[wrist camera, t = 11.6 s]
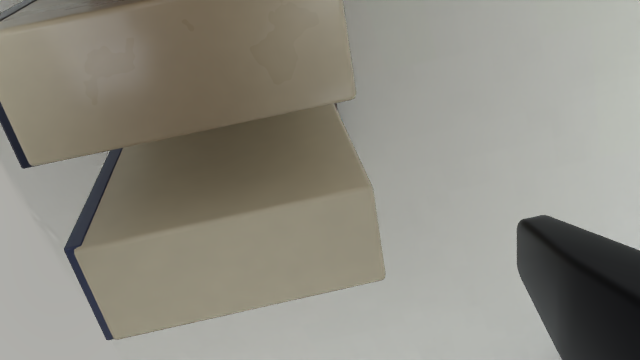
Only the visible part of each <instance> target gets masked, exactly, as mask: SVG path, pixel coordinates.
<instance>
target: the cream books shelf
mask: <svg viewBox="0 0 640 360" xmlns="http://www.w3.org/2000/svg"><path fill="white" fill-rule="evenodd" d="M355 96H356V87H355V80H354V73H353V66H352V59H351V53H350V46H349V39H348V32H347V25H346V18H345V11H344V4H343V0H24V1H22V2H21V3H19V4H17V5H15V6H13V7H11V8H10V9H8V10H6V11H4V12H2V13H0V123H1V125H2V127H3V129H4V131H5V133H6V136H7V138H8V140H9V142H10V144H11V146H12V148H13V150H14V152H15V155H16V157H17V159H18V161H19V163H20V165H21V167H22V168H29V167H34V166H39V165H43V164H47V163H52V162H57V161H62V160H67V159H71V158H76V157H81V156H86V155H90V154H95V153H100V152H105V151H109V150H114V149H119V148H124V147H129V146H133V145H138V144H143V143H148V142H152V141H157V140H162V139H167V138H172V137H176V136H181V135H186V134H191V133H195V132H200V131H205V130H210V129H214V128H219V127H224V126H229V125H234V124H238V123H243V122H248V121H253V120H257V119H262V118H267V117H272V116H277V115H281V114H286V113H291V112H296V111H300V110H305V109H310V108H315V107H319V106H324V105H329V104H334V105H335V107H336V109H337V104H336V103H339V102H343V101H348V100H352V99H354V98H355ZM337 111H338V110H337Z"/></svg>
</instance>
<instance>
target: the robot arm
mask: <svg viewBox="0 0 640 360" xmlns="http://www.w3.org/2000/svg"><path fill="white" fill-rule="evenodd" d="M517 267H518V271H519V274H520V277H521V279H522V281H523V283H524V285H525V287H526V289H527V291H528V293H529V295H530V297H531V299H532V301H533V303H534V305H535V307H536V309H537V311H538V313H539V315H540V317H541V319H542V321H543V323H544V325H545V327H546V329H547V331H548V333H549V335H550V337H551V339H552V341H553V343H554V345H555V347H556V349H557V351H558V353H559V355H560V357H561V358H562V360H640V251H639V250H637V249H634V248H632V247H629V246H626V245H624V244H621V243H618V242H616V241H613V240H610V239H608V238H605V237H603V236H600V235H597V234H595V233H592V232H589V231H587V230H584V229H581V228H579V227H576V226H573V225H571V224H568V223H566V222H563V221H560V220H558V219H555V218H552V217H550V216H546V215H540V216H536V217H531V218H527V219H523V220H521V221H520V222H519V223H518V226H517Z"/></svg>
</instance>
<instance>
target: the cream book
mask: <svg viewBox="0 0 640 360" xmlns="http://www.w3.org/2000/svg"><path fill="white" fill-rule="evenodd" d="M64 251H65V253H66V255H67V258H68V260H69V262H70V264H71V266H72V268H73V270H74V272H75V274H76V277H77V279H78V281H79V283H80V285H81V287H82V289H83V291H84V293H85V296H86V298H87V300H88V302H89V304H90V306H91V308H92V310H93V312H94V315H95V317H96V319H97V321H98V323H99V325H100V327H101V329H102V331H103V334H104V336H105V338H106V340H111V339H123V338H127V337H131V336H136V335H140V334H145V333H149V332H154V331H158V330H163V329H167V328H171V327H176V326H180V325H185V324H189V323H194V322H198V321H203V320H207V319H211V318H216V317H220V316H225V315H229V314H234V313H238V312H243V311H247V310H251V309H256V308H260V307H265V306H269V305H274V304H278V303H283V302H287V301H291V300H296V299H300V298H305V297H309V296H314V295H318V294H323V293H327V292H331V291H336V290H340V289H345V288H349V287H354V286H358V285H363V284H367V283H371V282H376V281H380V280H383V279H385V267H384V260H383V253H382V246H381V240H380V233H379V226H378V219H377V212H376V205H375V198H374V191H373V187H372V185H371V183H370V180H369V178H368V176H367V174H366V172H365V170H364V167H363V165H362V163H361V161H360V159H359V157H358V155H357V152H356V150H355V148H354V146H353V144H352V142H351V139H350V137H349V135H348V133H347V131H346V129H345V126H344V124H343V122H342V120H341V118H340V116H339V114H338V111H337V109H336V107H335V105H334V104H329V105H324V106H319V107H315V108H310V109H305V110H300V111H296V112H291V113H286V114H281V115H277V116H272V117H267V118H262V119H257V120H253V121H248V122H243V123H238V124H234V125H229V126H224V127H219V128H214V129H210V130H205V131H200V132H195V133H191V134H186V135H181V136H176V137H172V138H167V139H162V140H157V141H152V142H148V143H143V144H138V145H133V146H129V147H124V148H119V149H114V150H110V152H109V154H108V156H107V158H106V161H105V163H104V165H103V167H102V169H101V171H100V173H99V175H98V178H97V180H96V182H95V184H94V186H93V188H92V190H91V192H90V195H89V197H88V199H87V201H86V203H85V205H84V207H83V209H82V212H81V214H80V216H79V218H78V220H77V222H76V224H75V226H74V229H73V231H72V233H71V235H70V237H69V239H68V241H67V244H66V246H65V248H64Z"/></svg>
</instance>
